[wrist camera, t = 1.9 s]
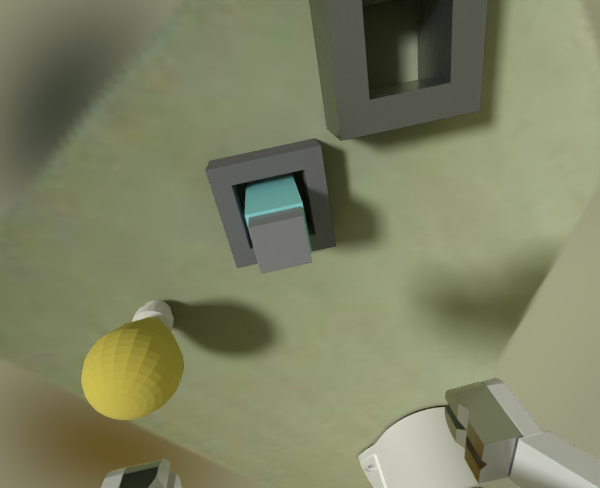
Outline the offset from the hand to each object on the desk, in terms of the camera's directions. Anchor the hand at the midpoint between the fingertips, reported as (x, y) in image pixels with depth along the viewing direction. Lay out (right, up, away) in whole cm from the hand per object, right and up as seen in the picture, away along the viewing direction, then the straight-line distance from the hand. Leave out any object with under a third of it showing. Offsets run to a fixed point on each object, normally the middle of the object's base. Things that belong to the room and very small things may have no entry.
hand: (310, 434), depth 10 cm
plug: (-2, +9, +17) cm, 20 cm away
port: (+5, +19, +13) cm, 24 cm away
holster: (-2, +9, +17) cm, 20 cm away
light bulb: (-13, 0, +21) cm, 25 cm away
